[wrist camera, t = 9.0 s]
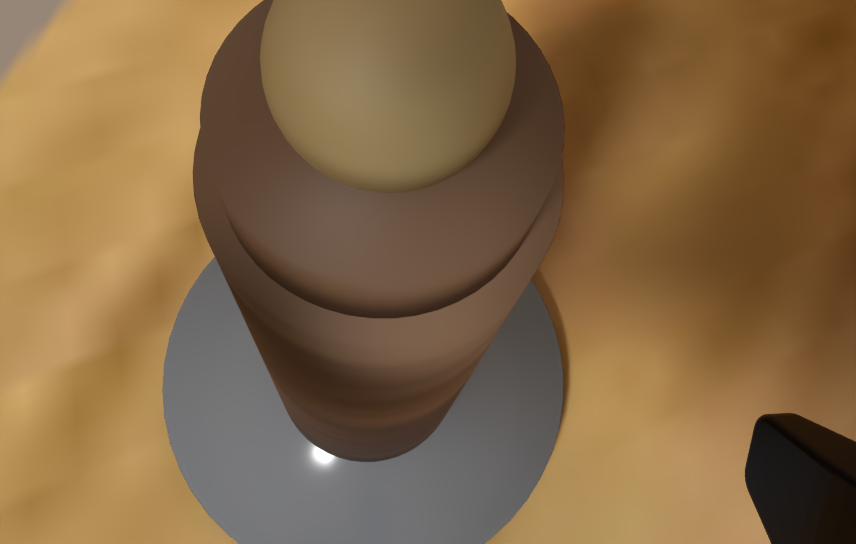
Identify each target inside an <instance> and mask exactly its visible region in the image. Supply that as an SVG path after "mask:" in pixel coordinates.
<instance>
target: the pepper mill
mask: <svg viewBox="0 0 856 544" xmlns="http://www.w3.org/2000/svg"><path fill="white" fill-rule="evenodd" d="M200 126H201V128H200V131H199V135H198V139H197V143H196V148H195V153H194V164H193V186H194V197H195V202H196V207H197V211H198V216H199V219H200V222H201V225H202V227H203V230H204V233H205V235H206V238H207V240H208V243H209V245H210V247H211V249H212V251H213V253H214V255H215V258H216V260H217V262H218V264H219V266H220V268H221V271H222V273H223V275H224V277H225V279H226V281H227V283H228V286H229V288H230V290H231V292H232V294H233V296H234V299H235V301H236V303H237V305H238V307H239V309H240V311H241V314H242V316H243V318H244V320H245V322H246V324H247V327H248V329H249V331H250V333H251V335H252V337H253V340H254V342H255V344H256V346H257V348H258V350H259V352H260V355H261V357H262V359H263V361H264V363H265V365H266V368H267V370H268V372H269V374H270V376H271V378H272V380H273V383H274V385H275V387H276V389H277V391H278V393H279V396H280V398H281V400H282V402H283V404H284V406H285V408H286V411H287V413H288V414H289V416H290V418H291V420H292V422H293V423H294V425H295V426H296V427H297V429H298V430H299V431H300V432H301V433H302V434H303V435H304V436H305V438H306V439H307V440H309V441H310V442H311V443H312V444H314V445H315V446H316V447H318V448H319V449H321V450H323V451H325V452H326V453H328V454H331V455H333V456H336V457H338V458H342V459H346V460H350V461H357V462H377V461H383V460H388V459H391V458H395V457H398V456H400V455H403V454H405V453H407V452H409V451H411V450H412V449H414V448H416V447H417V446H419V445H420V444H421V443H422V442H424V441H425V440H426V439H427V438H428V437H429V436H430V435H431V434H432V433H433V432H434V431H435V430H436V429H437V427H438V426H439V424H440V423H441V422H442V420H443V419H444V417H445V415H446V414H447V412H448V411H449V409H450V407H451V406H452V404H453V403H454V401H455V399H456V398H457V396H458V395H459V393H460V391H461V390H462V388H463V387H464V385H465V383H466V382H467V380H468V379H469V377H470V375H471V374H472V372H473V371H474V369H475V367H476V366H477V364H478V363H479V361H480V359H481V358H482V356H483V355H484V353H485V351H486V350H487V348H488V347H489V345H490V343H491V342H492V340H493V339H494V337H495V336H496V334H497V332H498V331H499V329H500V328H501V326H502V324H503V323H504V321H505V320H506V318H507V316H508V315H509V313H510V312H511V310H512V308H513V307H514V305H515V304H516V302H517V300H518V299H519V297H520V296H521V294H522V292H523V291H524V289H525V288H526V286H527V284H528V283H529V281H530V280H531V278H532V276H533V275H534V273H535V272H536V270H537V268H538V267H539V265H540V264H541V262H542V260H543V258H544V256H545V254H546V252H547V251H548V249H549V247H550V245H551V243H552V240H553V237H554V235H555V232H556V229H557V226H558V223H559V219H560V214H561V209H562V204H563V192H564V173H563V163H562V152H563V147H564V129H565V125H564V115H563V105H562V101H561V97H560V93H559V89H558V85H557V83H556V80H555V78H554V75H553V73H552V70H551V68H550V66H549V64H548V62H547V61H546V59H545V57H544V55H543V54H542V52H541V50H540V48H539V47H538V46H537V44H536V43H535V42H534V40H533V39H532V38H531V36H530V35H529V34H528V32H527V31H526V30H525V29H524V28H523V27H522V26H521V25H520V24H519V23H518V22H517V21H516V20H515V19H514V18H513V17H512V16H511V15H509V14H508V13H507V12H506V10H505V7H504V5H503V3H502V1H501V0H264V1H262V2H261V3H260V4H258V5H257V6H256V7H254V8H253V9H252V10H251V11H250V12H249V13H248V14H247V15H246V16H245V17H244V18H243V19H242V20H240V21H239V22H238V24H237V25H236V26H235V27H234V29H233V30H232V31H231V32H230V34H229V35H228V36H227V37H226V39H225V40H224V42H223V44H222V45H221V47H220V49H219V50H218V52H217V54H216V55H215V57H214V60H213V62H212V64H211V67H210V69H209V72H208V74H207V77H206V81H205V85H204V89H203V93H202V99H201V111H200Z"/></svg>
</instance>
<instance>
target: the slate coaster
mask: <svg viewBox="0 0 856 544" xmlns="http://www.w3.org/2000/svg"><path fill="white" fill-rule="evenodd" d="M163 403H164V417H165V421H166V426H167V431H168V435H169V440H170V444H171V447H172V450H173V452H174V455H175V458H176V461H177V463H178V466H179V469H180V471H181V472H182V474H183V476H184V478H185V480H186V482H187V484H188V485H189V487H190V489H191V491H192V493H193V494H194V496H195V497H196V498H197V500H198V501H199V502H200V504H201V505H202V506H203V508H204V509H205V511H206V512H207V513H208V515H209V516H210V517H211V518H212V519H213V520H214V521H215V522H216V523H217V524H218V525H219V526H220V527H221V528H222V529H223V530H224V531H225V532H226V533H227V534H228V535H229V536H230V537H232V538H233V539H234V540H236V541H237V542H238V543H240V544H484V543H486V542H487V541H488V540H490V539H491V538H492V537H493V536H494V535H495V534H496V533H497V532H498V531H500V530H501V529H502V528H503V527H504V526H505V525H506V524H507V523H508V522H509V521H510V520H511V519H512V518H513V517H514V515H515V514H516V513H517V512H518V510H519V509H520V508H521V507H522V505H523V504H524V503H525V502H526V501H527V499H528V498H529V496H530V494H531V493H532V491H533V489H534V488H535V486H536V485H537V483H538V481H539V480H540V478H541V476H542V474H543V472H544V469H545V467H546V465H547V463H548V460H549V458H550V456H551V453H552V450H553V447H554V444H555V440H556V437H557V433H558V430H559V425H560V418H561V412H562V405H563V370H562V361H561V352H560V348H559V344H558V340H557V336H556V332H555V328H554V325H553V323H552V320H551V318H550V315H549V312H548V310H547V307H546V305H545V303H544V301H543V299H542V297H541V296H540V294H539V292H538V290H537V288H536V286H535V284H534V283H533V281H532V280H530V281H529V283H528V284H527V286H526V288H525V289H524V291H523V292H522V294H521V296H520V297H519V299H518V300H517V302H516V304H515V305H514V307H513V308H512V310H511V312H510V313H509V315H508V316H507V318H506V320H505V321H504V323H503V324H502V326H501V328H500V329H499V331H498V332H497V334H496V336H495V337H494V339H493V340H492V342H491V343H490V345H489V347H488V348H487V350H486V351H485V353H484V355H483V356H482V358H481V359H480V361H479V363H478V364H477V366H476V367H475V369H474V371H473V372H472V374H471V375H470V377H469V379H468V380H467V382H466V383H465V385H464V387H463V388H462V390H461V391H460V393H459V395H458V396H457V398H456V399H455V401H454V403H453V404H452V406H451V407H450V409H449V411H448V412H447V414H446V415H445V417H444V419H443V420H442V422H441V423H440V424H439V426H438V427H437V429H436V430H435V431H434V432H433V433H432V434H431V435H430V436H429V437H428V438H427V439H426V440H425V441H424V442H422V443H421V444H420V445H419V446H417V447H416V448H414V449H412V450H411V451H409V452H407V453H405V454H403V455H400V456H398V457H395V458H391V459H388V460H383V461H377V462H357V461H350V460H346V459H342V458H338V457H336V456H333V455H331V454H328V453H326V452H325V451H323V450H321V449H319V448H318V447H316V446H315V445H314V444H312V443H311V442H310V441H309V440H307V439H306V438H305V436H304V435H303V434H302V433H301V432H300V431H299V430H298V429H297V427H296V426H295V425H294V423H293V422H292V420H291V418H290V416H289V414H288V413H287V411H286V408H285V406H284V404H283V402H282V400H281V398H280V396H279V393H278V391H277V389H276V387H275V385H274V383H273V380H272V378H271V376H270V374H269V372H268V370H267V368H266V365H265V363H264V361H263V359H262V357H261V355H260V352H259V350H258V348H257V346H256V344H255V342H254V340H253V337H252V335H251V333H250V331H249V329H248V327H247V324H246V322H245V320H244V318H243V316H242V314H241V311H240V309H239V307H238V305H237V303H236V301H235V299H234V296H233V294H232V292H231V290H230V288H229V286H228V283H227V281H226V279H225V277H224V275H223V273H222V271H221V268H220V266H219V264H218V262H217V260H216V258H215V257H214V259H213V260H212V261H211V262H210V263H209V264H208V265H207V267H206V268H205V269H204V270H203V271H202V273H201V274H200V276H199V277H198V279H197V280H196V282H195V283H194V285H193V286H192V288H191V289H190V291H189V293H188V295H187V297H186V299H185V301H184V303H183V305H182V307H181V309H180V311H179V313H178V315H177V318H176V321H175V324H174V327H173V330H172V332H171V335H170V338H169V343H168V348H167V353H166V358H165V363H164V376H163Z"/></svg>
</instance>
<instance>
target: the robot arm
mask: <svg viewBox="0 0 856 544" xmlns="http://www.w3.org/2000/svg"><path fill="white" fill-rule="evenodd" d="M745 481H746V485H747V489H748V492H749V494H750V496H751V498H752V501H753V503H754V505H755V508H756V510H757V512H758V514H759V517H760V519H761V521H762V524H763V526H764V528H765V530H766V533H767V535H768V537H769V540H770V542H771V544H856V442H855V441H853V440H851V439H849V438H847V437H844V436H842V435H840V434H838V433H836V432H834V431H832V430H829V429H827V428H825V427H823V426H821V425H819V424H816V423H814V422H812V421H810V420H808V419H806V418H804V417H801V416H799V415H797V414H793V413H781V414H765V415H762V416H761V417H759V418H758V420H757V421H756V423H755V426H754V431H753V435H752V440H751V444H750V449H749V453H748V458H747V462H746V467H745Z"/></svg>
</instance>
